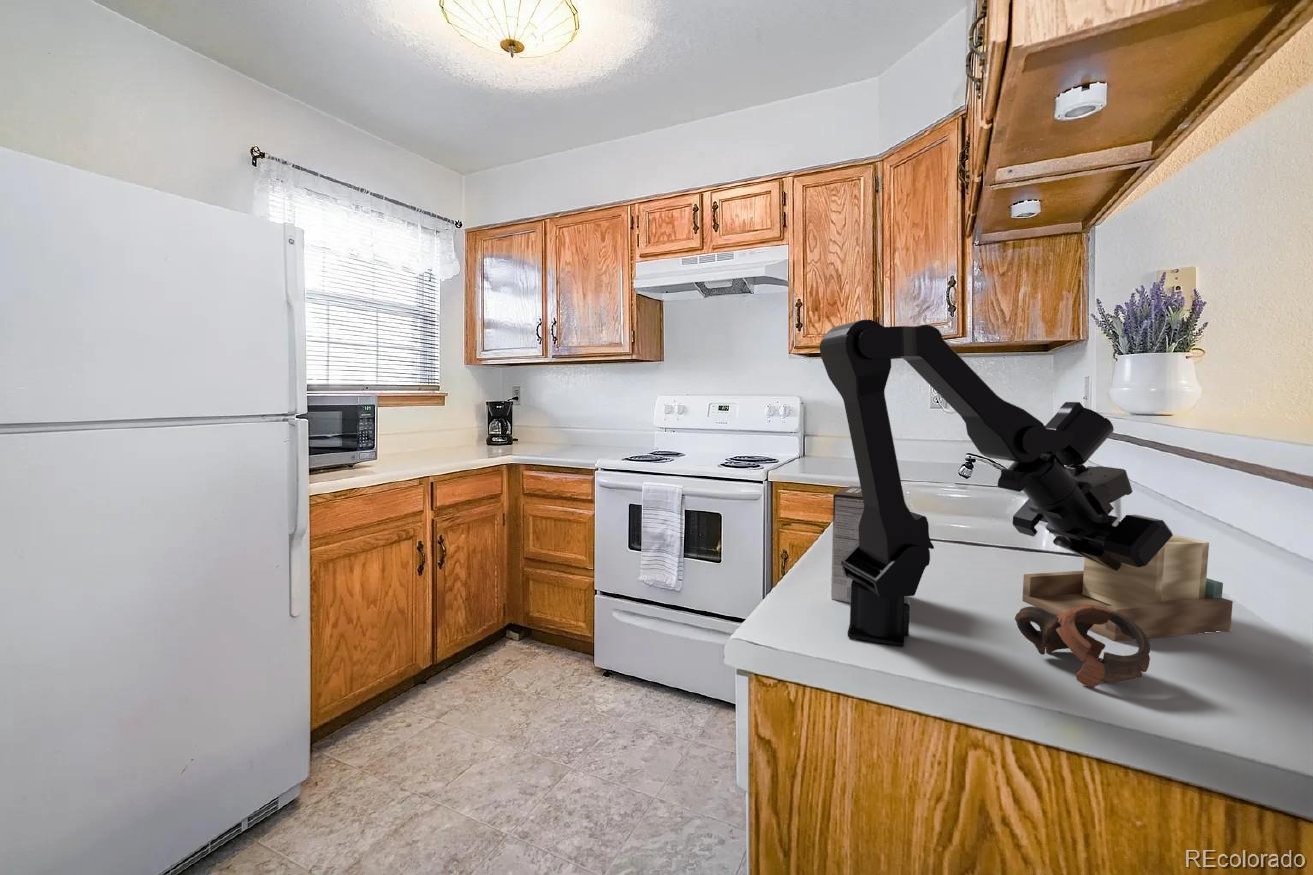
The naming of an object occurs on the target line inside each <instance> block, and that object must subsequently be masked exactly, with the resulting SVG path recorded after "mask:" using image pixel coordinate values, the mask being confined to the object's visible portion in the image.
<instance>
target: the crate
mask: <svg viewBox="0 0 1313 875" xmlns="http://www.w3.org/2000/svg"><path fill="white" fill-rule="evenodd" d="M1209 548H1210V542H1208V541H1203V540H1198V539H1194V538H1189V537H1185V536H1181V535H1176V534H1173V536H1172V537H1171V538H1170V539H1169V540H1168V541H1167V542H1166V544H1165V545H1164V546H1163V547H1162V548H1161V549H1160V550H1159V552H1158V553H1157V554H1156V555H1155V556H1154V557H1153V558H1152V559H1151V561H1150V562H1149V563H1148V564H1147V565H1146V566H1142V567H1135V566H1131V565H1128V564H1125V563H1121V567H1120V568H1119V569H1118V570H1117V571H1115V570H1112V569H1109V568H1107V567H1105V566H1102V565H1100V564H1098V563H1096V562H1094V561H1092V560H1089V559H1087V558H1085V557H1084V560H1083V562H1084V563H1083V564H1084V565H1083V571H1084V575H1083V592H1082V594H1083V595H1086V596H1088V597H1091V598H1094V599H1096V600H1099V601H1102V602H1104V603H1107V604H1110V605H1112V606H1114V605H1128V604H1142V603H1156V602H1170V601H1184V600H1197V599H1205V590H1206V578H1207V575H1208V564H1209V563H1208V561H1209V551H1210V549H1209Z"/></svg>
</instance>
